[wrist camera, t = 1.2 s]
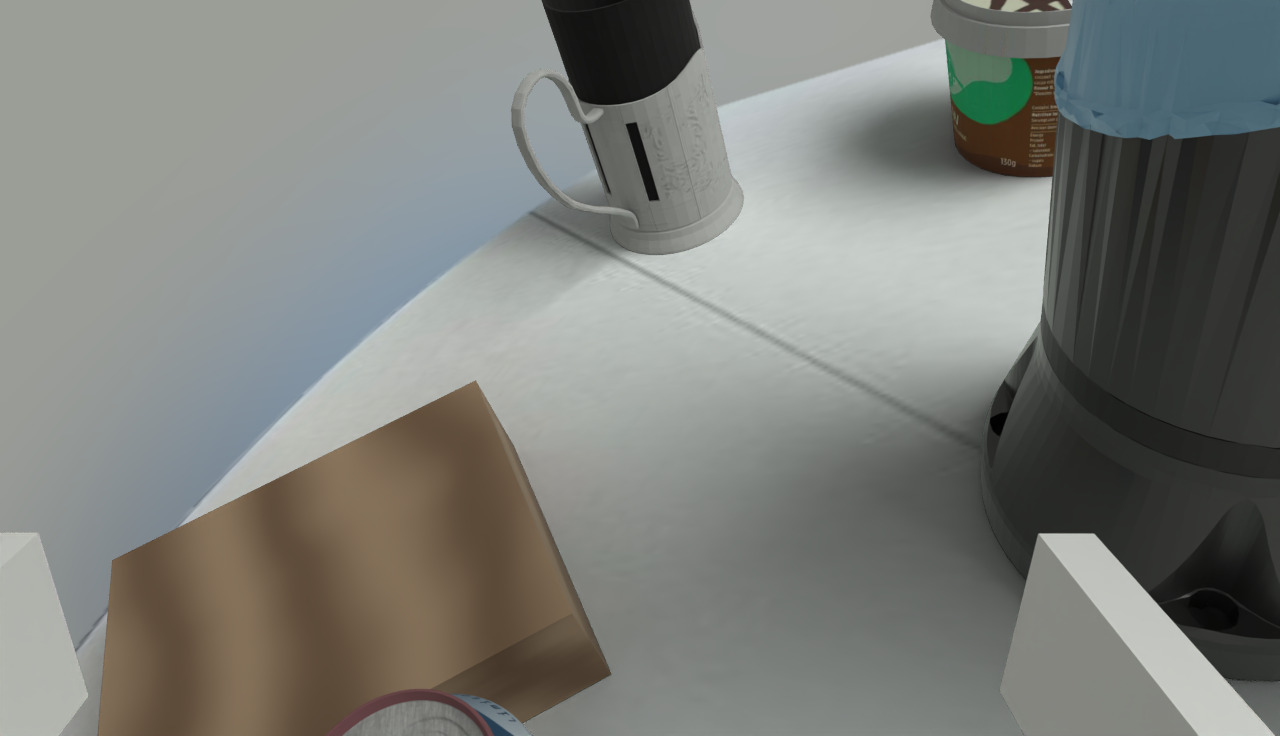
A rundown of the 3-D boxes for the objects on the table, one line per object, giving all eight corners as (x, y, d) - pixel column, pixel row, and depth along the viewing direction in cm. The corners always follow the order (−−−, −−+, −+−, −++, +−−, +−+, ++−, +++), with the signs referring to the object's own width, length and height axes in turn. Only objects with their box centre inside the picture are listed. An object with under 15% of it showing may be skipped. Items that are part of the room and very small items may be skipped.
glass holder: (767, 178, 54) (722, -64, 44) (650, 328, 47) (564, 81, 37) (655, 163, 59) (591, -59, 49) (534, 297, 52) (429, 71, 42)
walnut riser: (513, 445, 44) (475, 380, 40) (611, 674, 34) (571, 612, 30) (181, 613, 42) (112, 560, 38) (180, 910, 32) (86, 873, 28)
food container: (918, 98, 56) (913, -57, 49) (1018, 78, 55) (1027, -85, 48) (954, 209, 48) (953, 40, 41) (1073, 189, 46) (1093, 11, 39)
